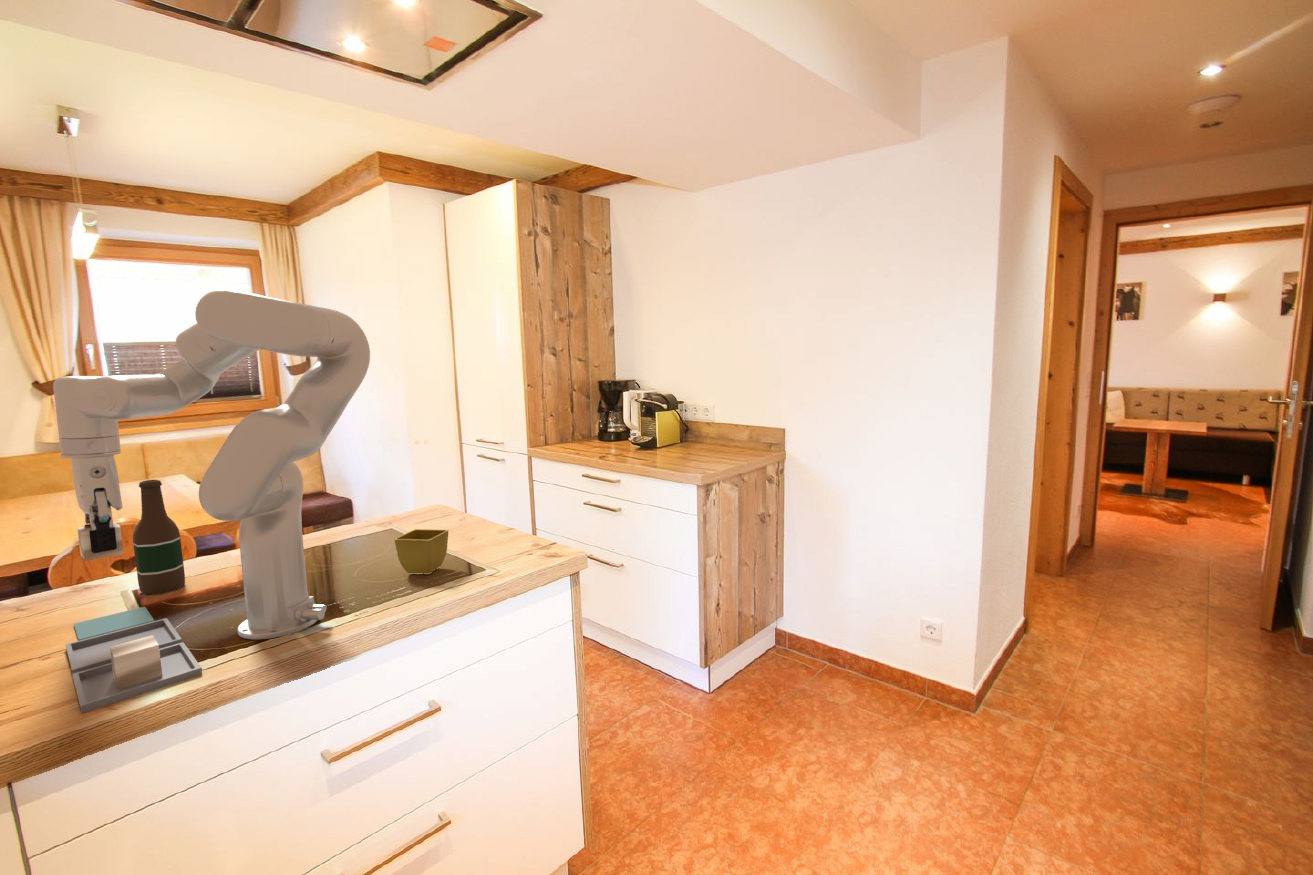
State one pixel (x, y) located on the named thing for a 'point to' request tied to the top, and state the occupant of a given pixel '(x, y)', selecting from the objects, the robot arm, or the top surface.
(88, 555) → the letter cube
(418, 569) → the flower pot
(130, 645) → the plain cube
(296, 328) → the robot arm
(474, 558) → the top surface
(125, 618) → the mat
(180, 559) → the beer bottle
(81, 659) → the dish far
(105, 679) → the dish near
